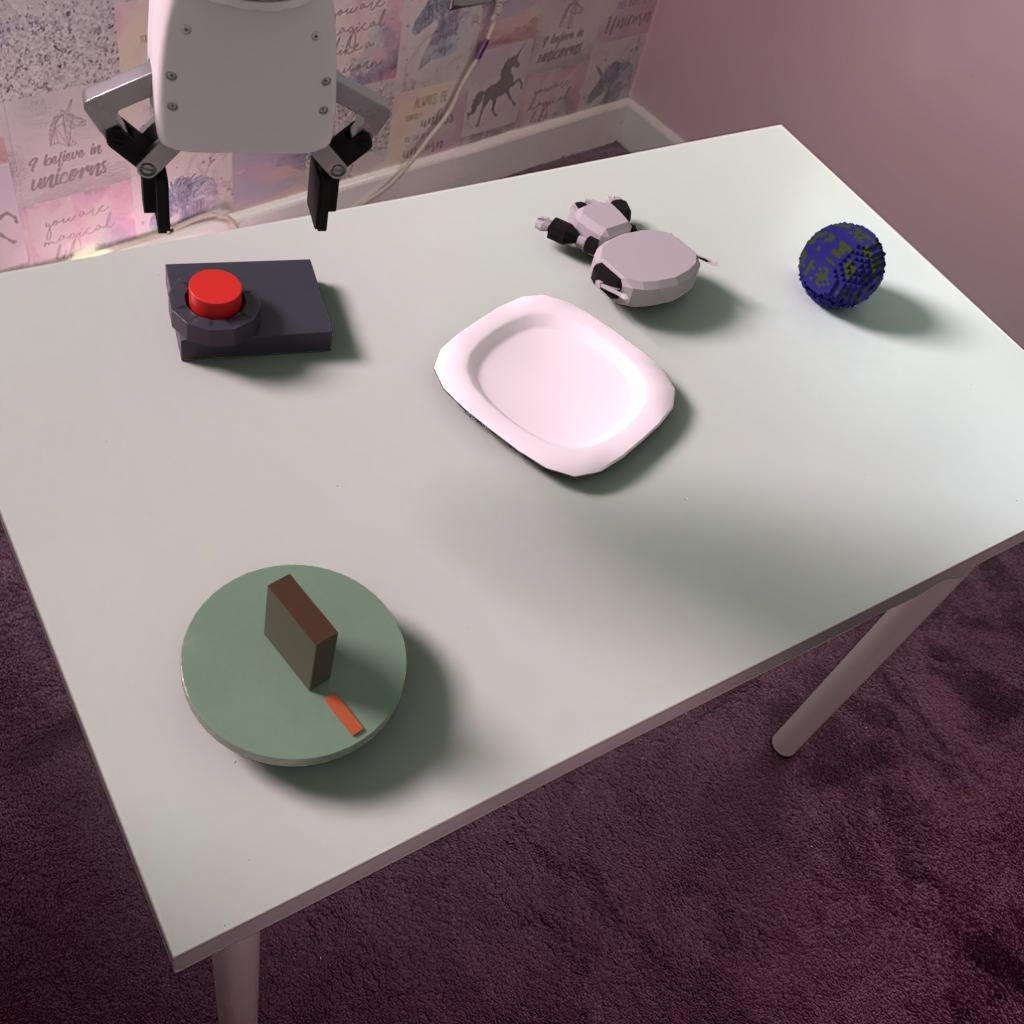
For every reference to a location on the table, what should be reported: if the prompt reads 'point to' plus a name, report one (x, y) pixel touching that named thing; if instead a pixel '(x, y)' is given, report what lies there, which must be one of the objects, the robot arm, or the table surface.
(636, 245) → the robot toy
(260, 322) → the button block
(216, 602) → the turntable plate
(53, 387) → the table surface
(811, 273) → the ball
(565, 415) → the plate
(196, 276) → the button
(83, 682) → the table surface
